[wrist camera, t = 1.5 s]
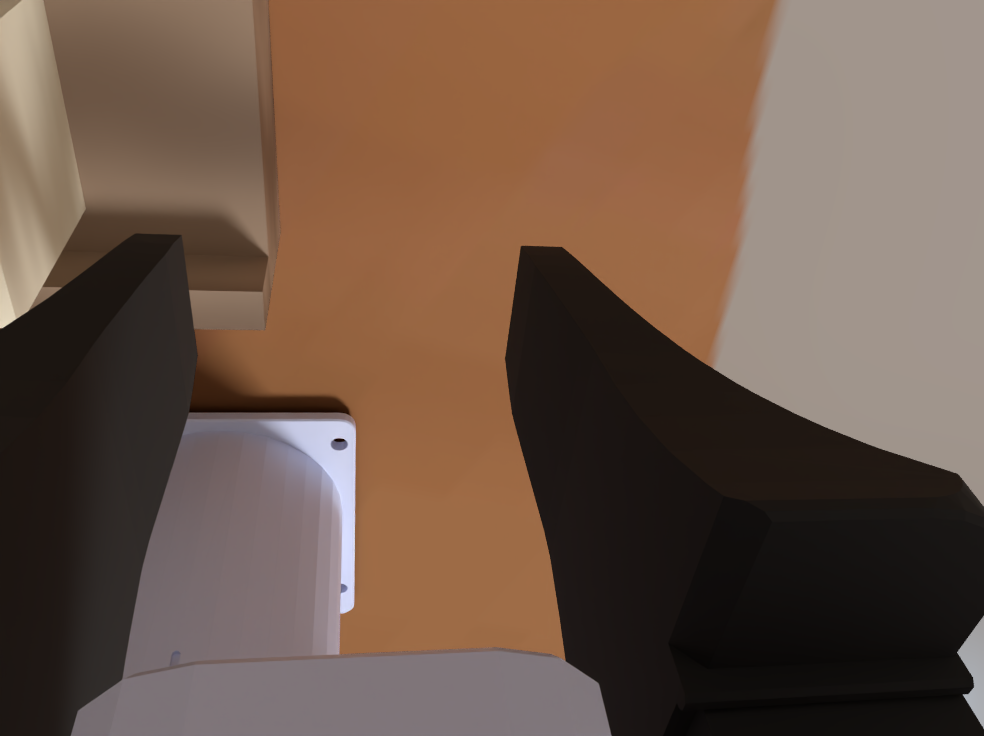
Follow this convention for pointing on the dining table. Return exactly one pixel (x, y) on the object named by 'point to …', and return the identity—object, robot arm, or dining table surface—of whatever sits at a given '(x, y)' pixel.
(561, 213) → the dining table surface
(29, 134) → the maple block
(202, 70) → the trap box
